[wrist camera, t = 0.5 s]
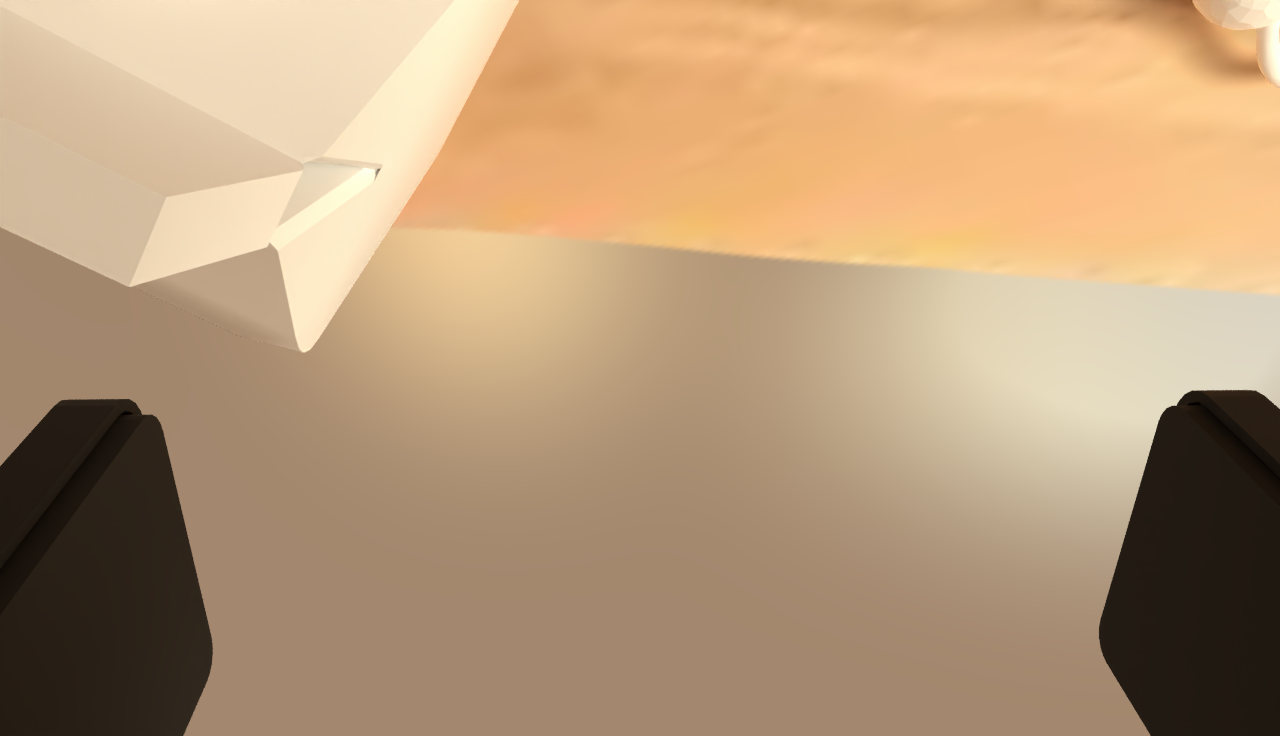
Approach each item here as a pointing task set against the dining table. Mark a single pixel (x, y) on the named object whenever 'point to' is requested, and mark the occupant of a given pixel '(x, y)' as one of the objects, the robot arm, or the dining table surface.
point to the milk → (230, 141)
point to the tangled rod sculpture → (1250, 27)
